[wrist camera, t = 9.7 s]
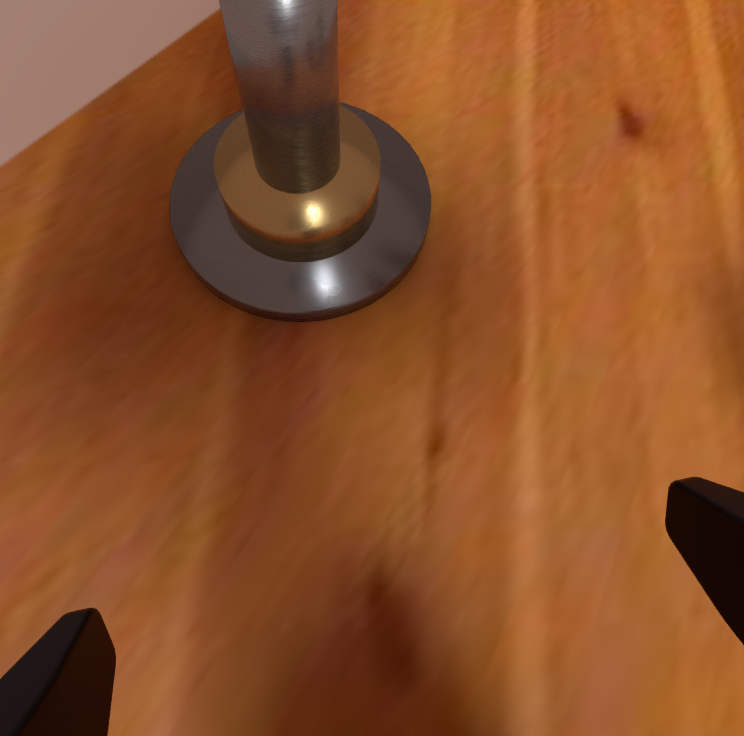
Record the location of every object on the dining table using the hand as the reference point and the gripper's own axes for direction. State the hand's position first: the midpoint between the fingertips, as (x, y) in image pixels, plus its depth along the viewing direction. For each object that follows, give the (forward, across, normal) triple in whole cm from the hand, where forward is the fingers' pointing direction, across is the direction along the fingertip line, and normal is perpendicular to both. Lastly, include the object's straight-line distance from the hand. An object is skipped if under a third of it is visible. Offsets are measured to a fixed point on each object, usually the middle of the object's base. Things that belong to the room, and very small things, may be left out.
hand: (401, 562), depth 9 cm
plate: (+22, 0, -3) cm, 22 cm away
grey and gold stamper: (+21, 0, -3) cm, 21 cm away
